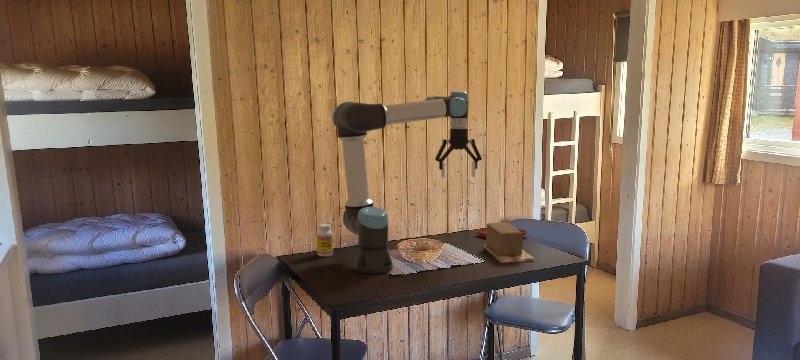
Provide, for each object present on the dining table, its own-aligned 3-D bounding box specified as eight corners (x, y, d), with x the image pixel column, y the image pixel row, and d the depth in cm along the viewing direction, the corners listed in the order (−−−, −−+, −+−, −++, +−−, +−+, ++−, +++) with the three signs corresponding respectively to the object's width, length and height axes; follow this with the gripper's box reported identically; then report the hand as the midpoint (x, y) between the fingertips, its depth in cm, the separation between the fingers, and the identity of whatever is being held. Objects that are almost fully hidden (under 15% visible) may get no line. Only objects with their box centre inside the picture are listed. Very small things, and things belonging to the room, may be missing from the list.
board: (500, 262, 253) (501, 259, 253) (483, 247, 276) (483, 244, 276) (533, 261, 255) (533, 258, 255) (514, 246, 278) (514, 243, 278)
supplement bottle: (319, 257, 260) (319, 227, 258) (315, 253, 266) (314, 224, 264) (335, 255, 263) (334, 226, 261) (330, 252, 269) (329, 222, 267)
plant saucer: (504, 244, 284) (504, 237, 283) (474, 236, 297) (474, 230, 296) (528, 237, 295) (528, 230, 295) (499, 230, 309) (499, 224, 308)
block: (507, 221, 276) (523, 232, 257) (507, 243, 278) (523, 255, 258) (486, 222, 275) (500, 233, 255) (485, 244, 276) (499, 256, 257)
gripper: (432, 128, 262) (431, 178, 265) (489, 128, 266) (488, 177, 269) (428, 127, 269) (428, 176, 272) (484, 126, 273) (483, 174, 276)
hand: (458, 176), depth 271 cm, fingers open, 13 cm apart
